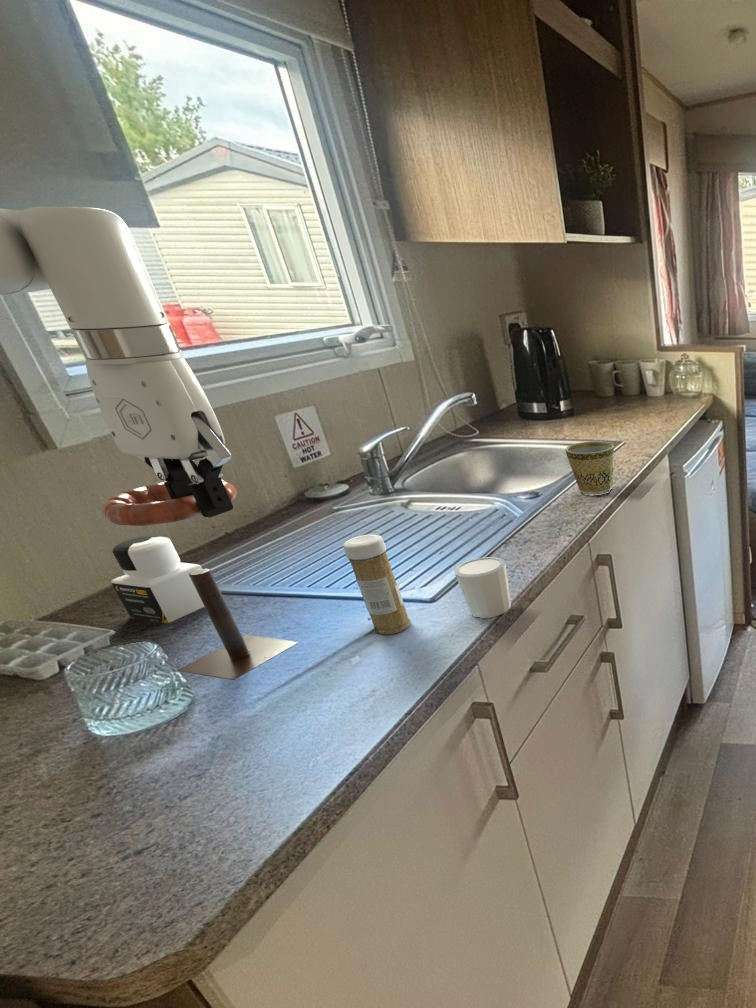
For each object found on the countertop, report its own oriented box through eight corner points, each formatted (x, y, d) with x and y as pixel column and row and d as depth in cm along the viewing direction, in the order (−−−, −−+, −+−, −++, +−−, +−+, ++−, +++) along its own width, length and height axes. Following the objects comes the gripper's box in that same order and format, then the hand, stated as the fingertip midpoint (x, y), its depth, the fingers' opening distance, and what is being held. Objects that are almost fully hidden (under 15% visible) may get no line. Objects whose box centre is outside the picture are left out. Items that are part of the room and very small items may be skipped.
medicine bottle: (133, 624, 94) (90, 548, 88) (185, 602, 100) (147, 528, 94) (171, 630, 92) (129, 552, 87) (221, 606, 99) (185, 532, 93)
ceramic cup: (614, 498, 140) (607, 452, 136) (567, 499, 140) (558, 453, 136) (627, 480, 152) (621, 437, 147) (584, 481, 152) (576, 438, 147)
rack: (180, 678, 82) (129, 584, 76) (249, 641, 90) (207, 553, 83) (237, 687, 80) (189, 591, 74) (302, 649, 88) (264, 559, 81)
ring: (80, 527, 73) (68, 506, 72) (181, 492, 84) (172, 474, 82) (171, 530, 72) (161, 509, 71) (263, 495, 82) (255, 476, 81)
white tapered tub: (467, 602, 99) (455, 560, 96) (515, 594, 101) (505, 553, 98) (464, 623, 93) (451, 579, 90) (515, 615, 95) (504, 571, 92)
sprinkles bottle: (417, 619, 94) (389, 533, 88) (400, 636, 90) (369, 546, 84) (386, 620, 94) (355, 533, 88) (367, 636, 90) (333, 546, 84)
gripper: (28, 348, 67) (118, 518, 75) (152, 351, 63) (231, 529, 72) (111, 339, 73) (186, 497, 82) (227, 342, 70) (292, 506, 78)
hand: (206, 511), depth 77 cm, fingers closed on ring, 2 cm apart
